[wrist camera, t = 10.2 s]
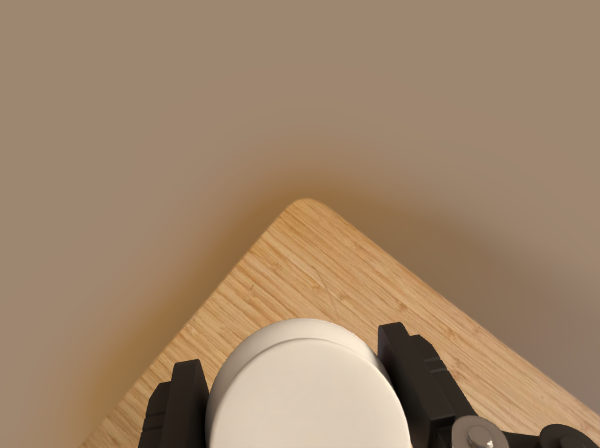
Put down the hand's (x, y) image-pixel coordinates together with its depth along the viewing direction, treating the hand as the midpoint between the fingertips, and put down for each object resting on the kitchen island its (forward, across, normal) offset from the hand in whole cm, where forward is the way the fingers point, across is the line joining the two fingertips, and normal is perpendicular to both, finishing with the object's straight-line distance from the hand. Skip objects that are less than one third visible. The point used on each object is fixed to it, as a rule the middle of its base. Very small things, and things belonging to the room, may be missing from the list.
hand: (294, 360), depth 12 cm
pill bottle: (+4, 0, -6) cm, 8 cm away
